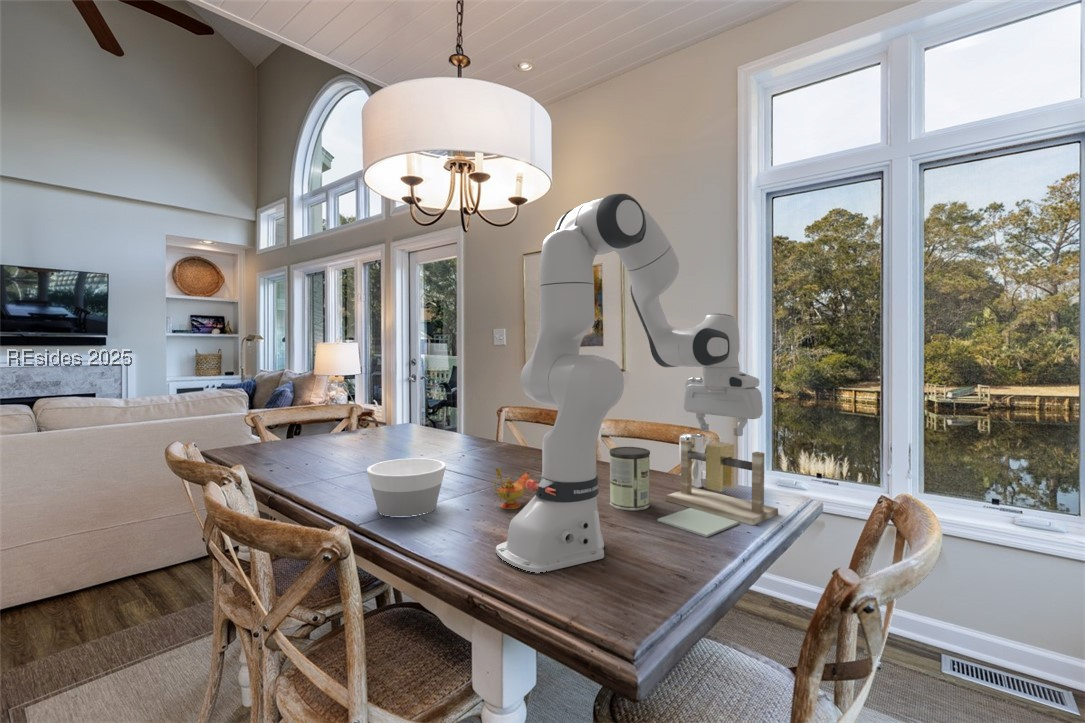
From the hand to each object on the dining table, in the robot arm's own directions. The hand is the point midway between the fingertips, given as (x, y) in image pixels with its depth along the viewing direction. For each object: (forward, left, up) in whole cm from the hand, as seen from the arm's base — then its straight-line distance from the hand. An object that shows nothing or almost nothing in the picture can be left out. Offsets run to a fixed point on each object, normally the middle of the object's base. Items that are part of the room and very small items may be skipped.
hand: (720, 433), depth 127 cm
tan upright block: (0, 0, -14) cm, 14 cm away
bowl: (-62, +49, -19) cm, 81 cm away
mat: (-14, -3, -19) cm, 24 cm away
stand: (0, 0, -19) cm, 19 cm away
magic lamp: (-39, +35, -19) cm, 56 cm away
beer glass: (+11, +16, -19) cm, 27 cm away
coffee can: (-16, +16, -19) cm, 30 cm away
